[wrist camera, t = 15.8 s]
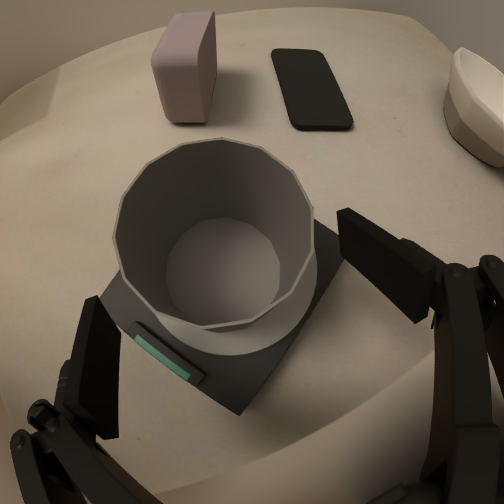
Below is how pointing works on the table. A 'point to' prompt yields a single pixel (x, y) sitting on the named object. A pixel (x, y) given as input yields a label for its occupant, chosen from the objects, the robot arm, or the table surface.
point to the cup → (214, 234)
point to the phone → (310, 90)
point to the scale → (228, 343)
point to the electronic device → (186, 66)
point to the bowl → (476, 106)
